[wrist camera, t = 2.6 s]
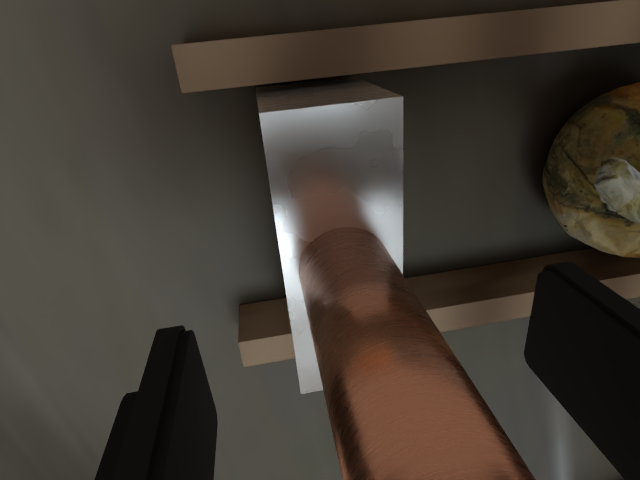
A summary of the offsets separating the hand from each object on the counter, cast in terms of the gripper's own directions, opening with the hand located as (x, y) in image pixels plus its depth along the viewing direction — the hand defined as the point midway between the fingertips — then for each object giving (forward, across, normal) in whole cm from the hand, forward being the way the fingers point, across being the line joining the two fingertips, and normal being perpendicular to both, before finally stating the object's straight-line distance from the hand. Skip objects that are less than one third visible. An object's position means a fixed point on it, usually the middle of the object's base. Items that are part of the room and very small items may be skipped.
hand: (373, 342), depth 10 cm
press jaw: (+10, 0, 0) cm, 10 cm away
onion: (+11, -14, 0) cm, 18 cm away
